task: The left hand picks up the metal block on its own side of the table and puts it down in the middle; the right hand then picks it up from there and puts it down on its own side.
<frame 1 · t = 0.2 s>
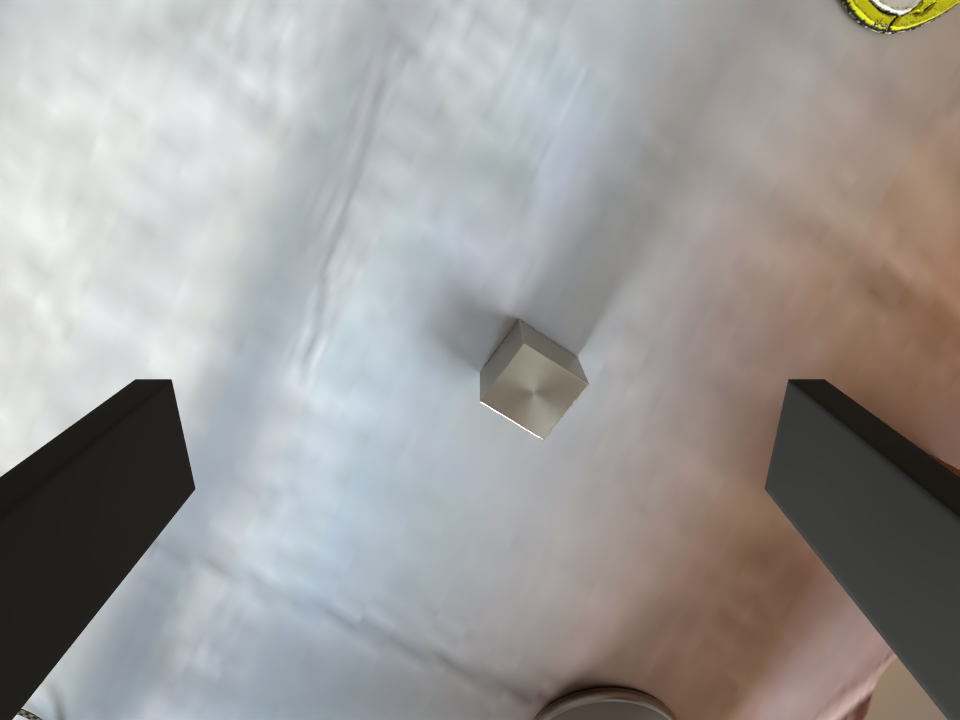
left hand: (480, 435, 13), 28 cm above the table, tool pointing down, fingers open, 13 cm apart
block: (528, 365, 42), on the table
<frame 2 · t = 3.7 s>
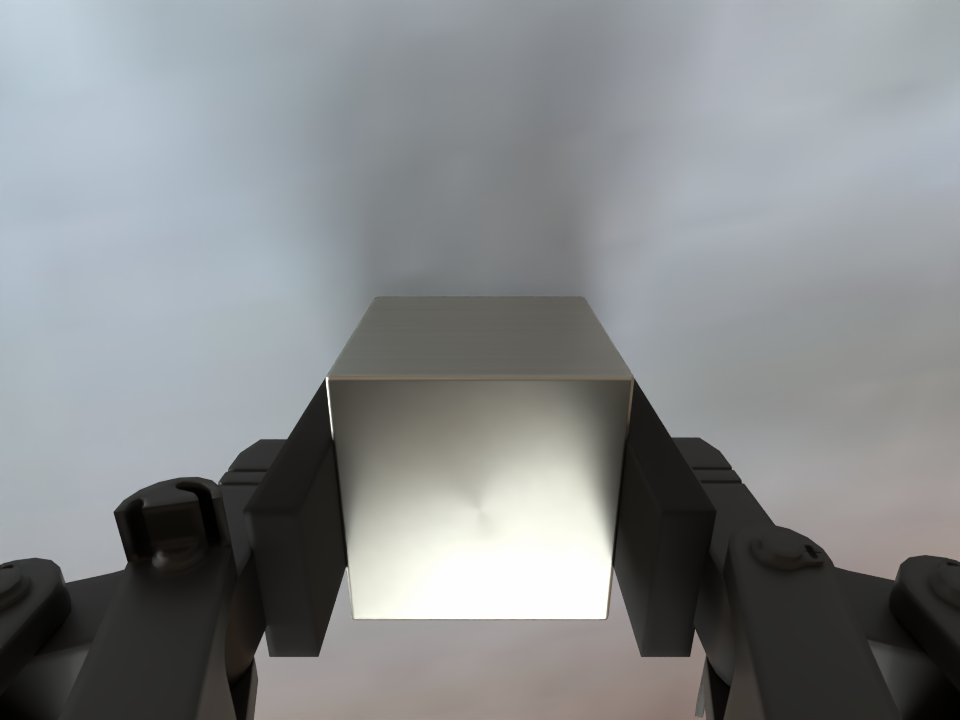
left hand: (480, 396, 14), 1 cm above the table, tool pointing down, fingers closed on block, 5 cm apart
block: (479, 394, 15), point 1 cm above the table, touching left hand
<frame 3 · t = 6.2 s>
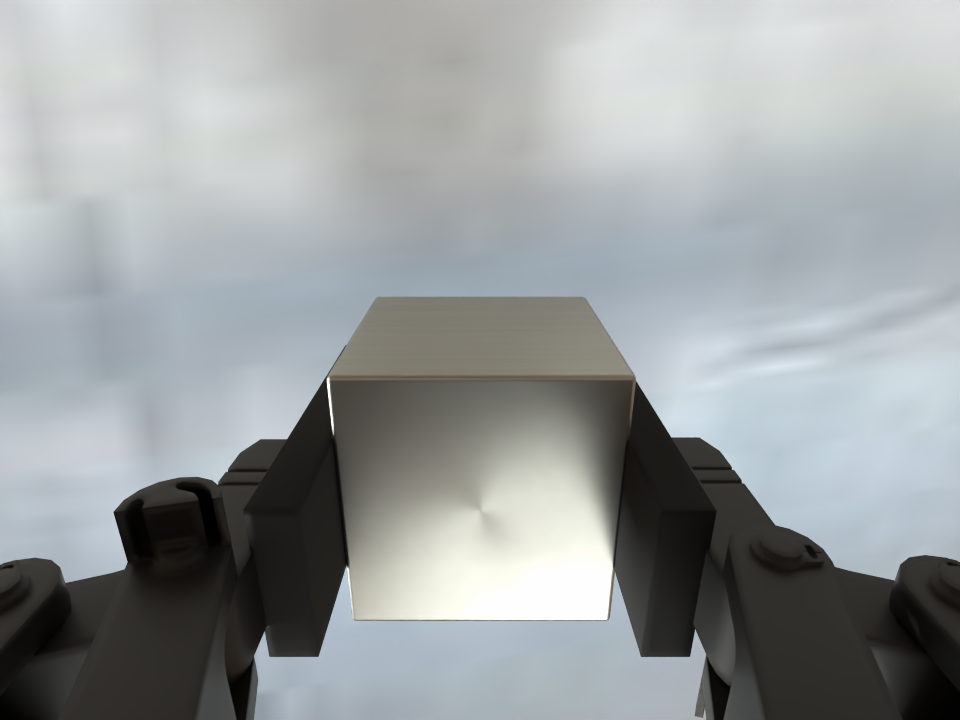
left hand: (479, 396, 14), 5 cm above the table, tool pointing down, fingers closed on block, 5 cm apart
block: (480, 394, 15), point 5 cm above the table, touching left hand
when the left hand's fingers open (1 cm above the table, at t = 8.7 s): block stays where it is, on the table.
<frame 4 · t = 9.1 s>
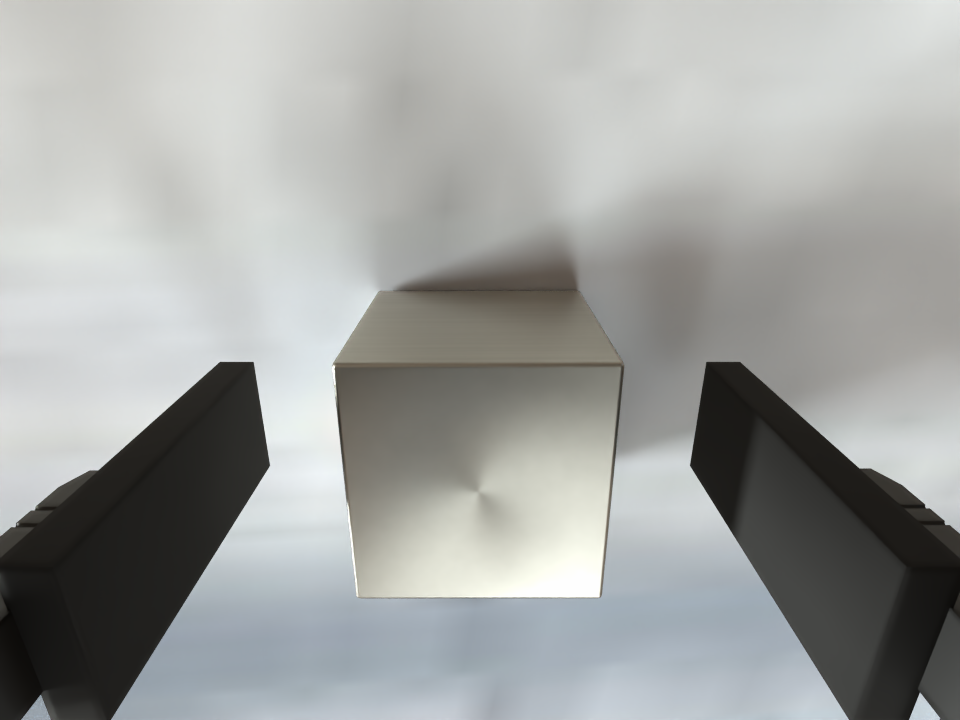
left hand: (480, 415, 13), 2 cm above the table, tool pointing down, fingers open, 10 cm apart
block: (479, 385, 15), on the table
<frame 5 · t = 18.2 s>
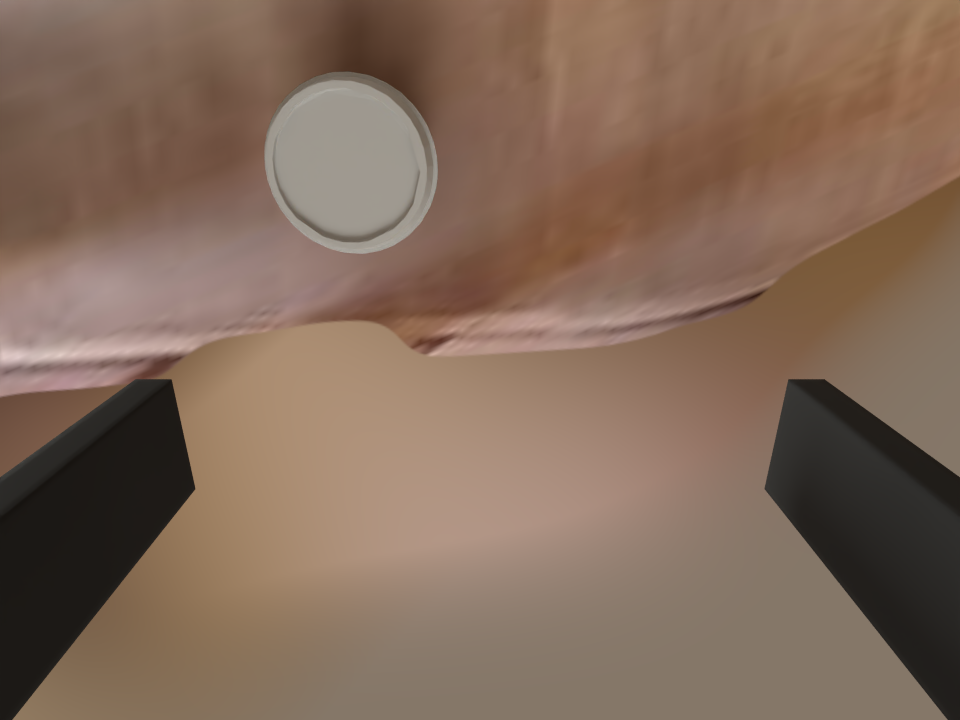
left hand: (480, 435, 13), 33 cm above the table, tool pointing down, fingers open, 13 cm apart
disposable coffee cup: (382, 158, 42), on the table
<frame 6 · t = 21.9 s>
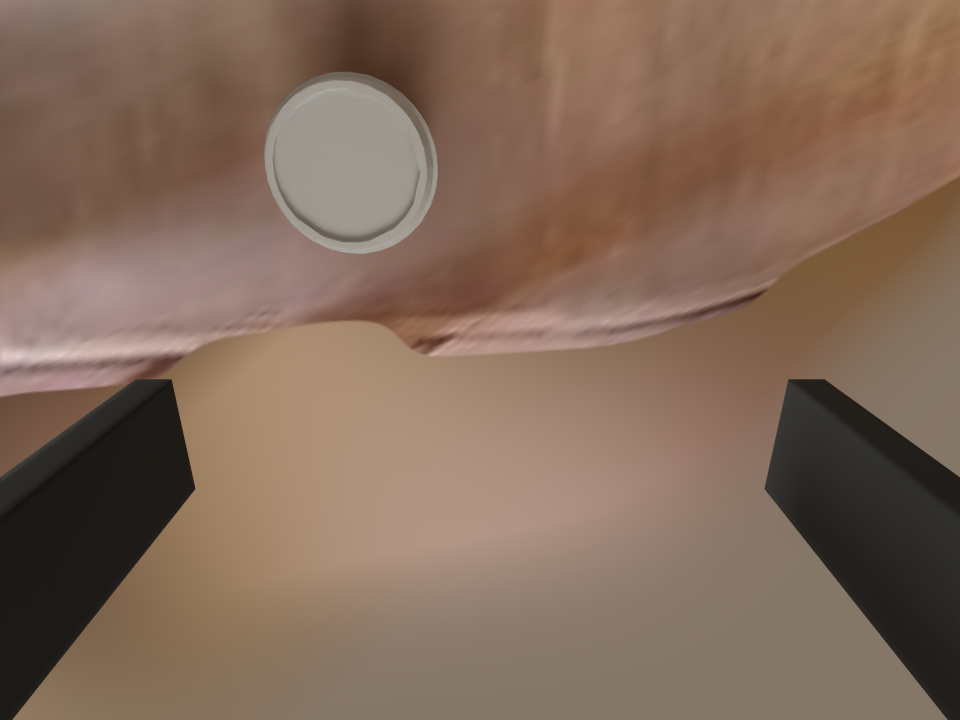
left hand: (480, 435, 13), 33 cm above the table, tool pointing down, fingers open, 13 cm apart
disposable coffee cup: (382, 158, 42), on the table
when the right hand's fingers open (2 cm above the table, at t = 25.4 s): block stays where it is, on the table.
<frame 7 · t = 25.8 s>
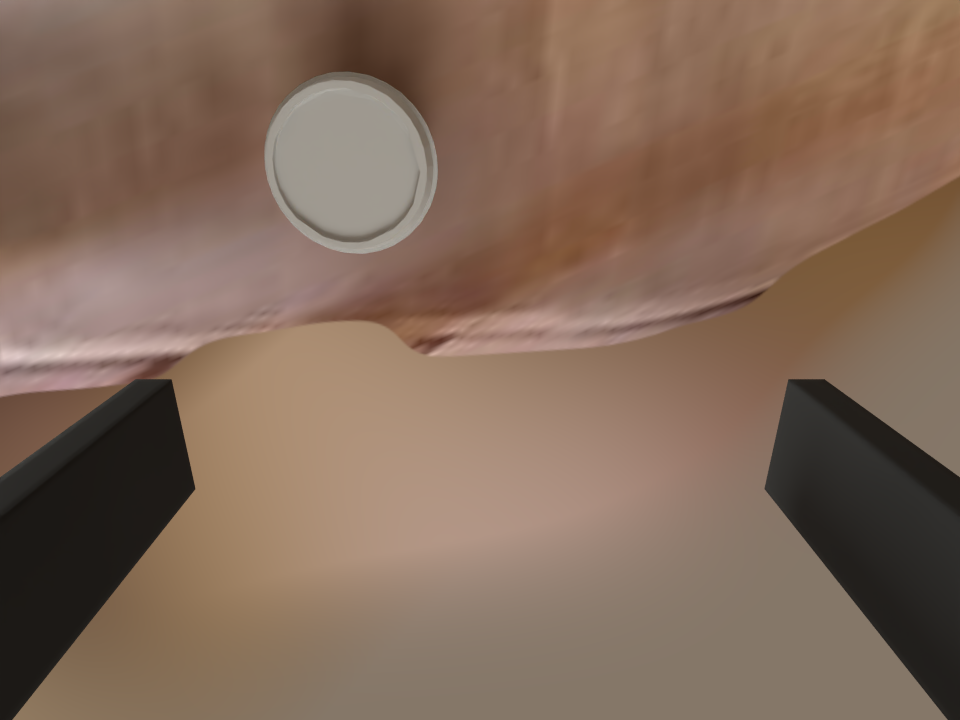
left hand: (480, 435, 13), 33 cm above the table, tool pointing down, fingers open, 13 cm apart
disposable coffee cup: (382, 158, 42), on the table
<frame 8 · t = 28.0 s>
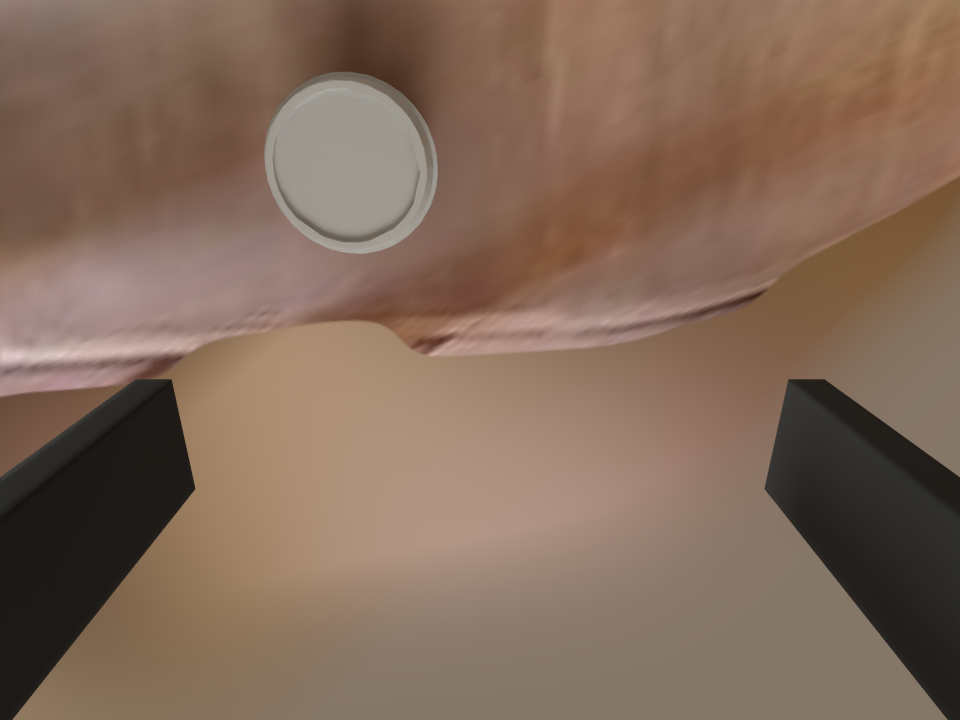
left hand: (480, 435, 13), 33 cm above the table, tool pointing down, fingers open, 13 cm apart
disposable coffee cup: (382, 158, 42), on the table
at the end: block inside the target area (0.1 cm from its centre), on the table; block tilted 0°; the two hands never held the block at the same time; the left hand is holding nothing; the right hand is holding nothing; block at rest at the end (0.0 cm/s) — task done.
